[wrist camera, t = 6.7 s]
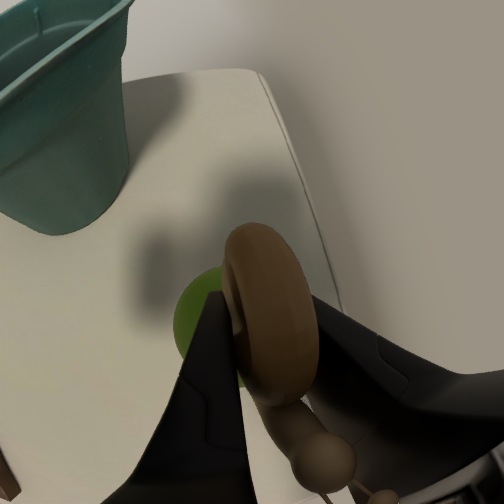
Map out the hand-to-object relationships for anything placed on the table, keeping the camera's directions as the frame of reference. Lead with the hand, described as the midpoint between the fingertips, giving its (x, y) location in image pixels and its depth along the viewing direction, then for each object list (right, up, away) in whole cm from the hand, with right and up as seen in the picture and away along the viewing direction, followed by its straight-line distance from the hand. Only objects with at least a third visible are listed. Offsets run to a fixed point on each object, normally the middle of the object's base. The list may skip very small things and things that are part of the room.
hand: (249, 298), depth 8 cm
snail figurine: (-1, -3, +6) cm, 7 cm away
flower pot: (-16, +8, +12) cm, 22 cm away
